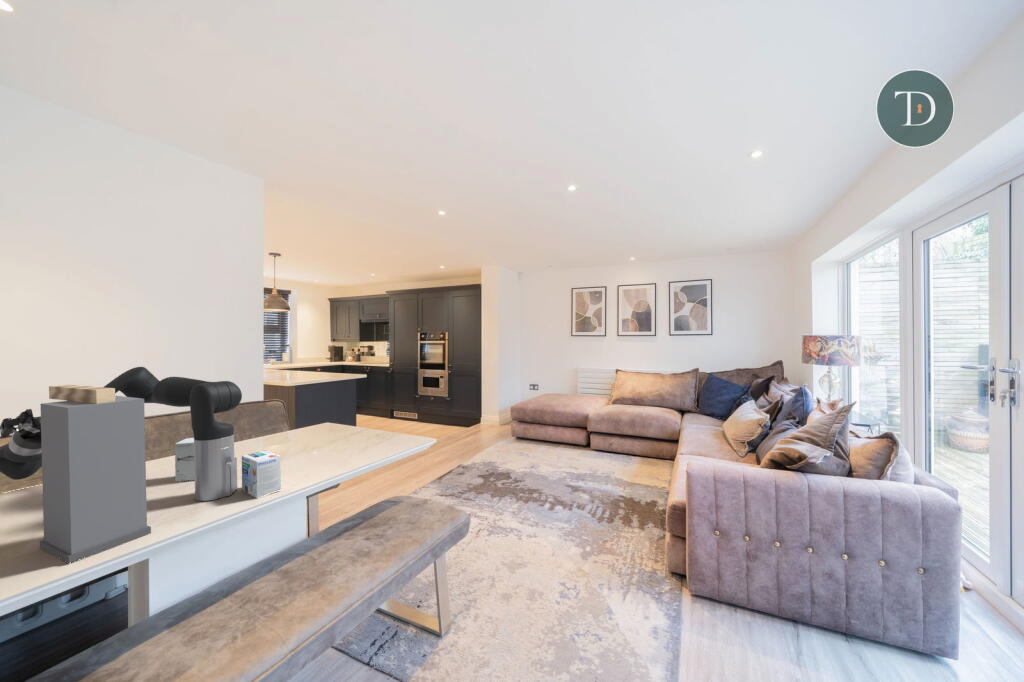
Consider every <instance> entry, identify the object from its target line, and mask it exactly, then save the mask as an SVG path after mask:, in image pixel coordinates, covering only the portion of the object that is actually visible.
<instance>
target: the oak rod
mask: <svg viewBox="0 0 1024 682" xmlns="http://www.w3.org/2000/svg"><path fill="white" fill-rule="evenodd" d="M115 396H116V393H115V388H105V387H104V386H103V387H101V386H91V385H89V386H88V385H79V384H78V385H76V384H61V385H49V386H48V399H49V400H58V401H75V402H85V403H94V404H99V403H107V402H115Z"/></svg>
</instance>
